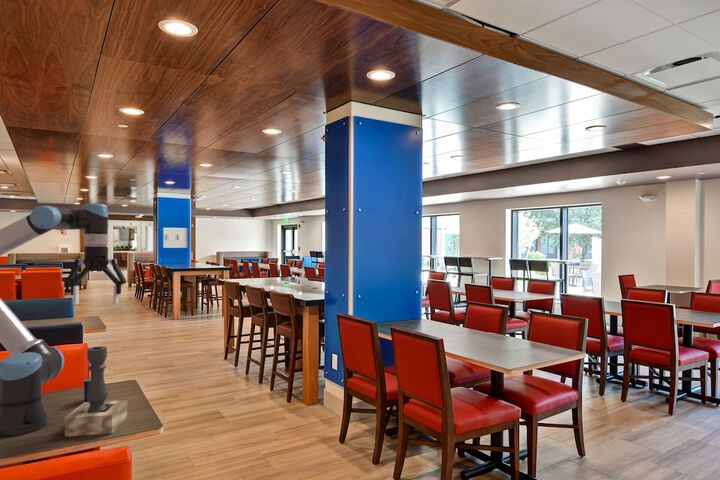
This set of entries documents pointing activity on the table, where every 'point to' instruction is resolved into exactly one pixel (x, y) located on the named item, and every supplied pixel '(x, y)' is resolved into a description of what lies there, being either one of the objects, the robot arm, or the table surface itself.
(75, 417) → the socket block
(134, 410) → the table surface
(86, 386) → the flask
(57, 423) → the table surface
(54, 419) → the table surface
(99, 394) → the candle holder
